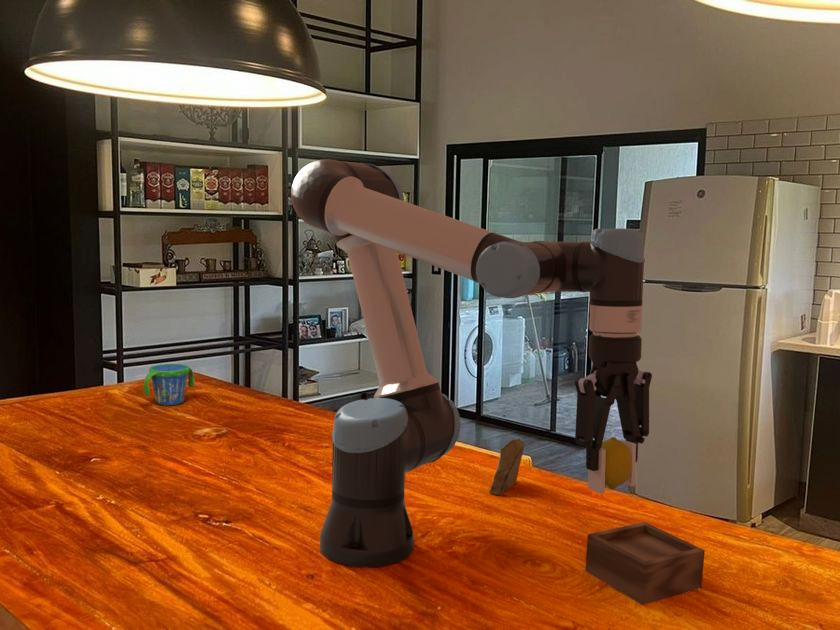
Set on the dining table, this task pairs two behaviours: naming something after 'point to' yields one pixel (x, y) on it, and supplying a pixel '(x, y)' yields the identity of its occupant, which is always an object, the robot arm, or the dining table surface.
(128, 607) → the dining table surface
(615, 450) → the lemon
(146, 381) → the snack cup
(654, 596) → the walnut block
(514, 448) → the rock
